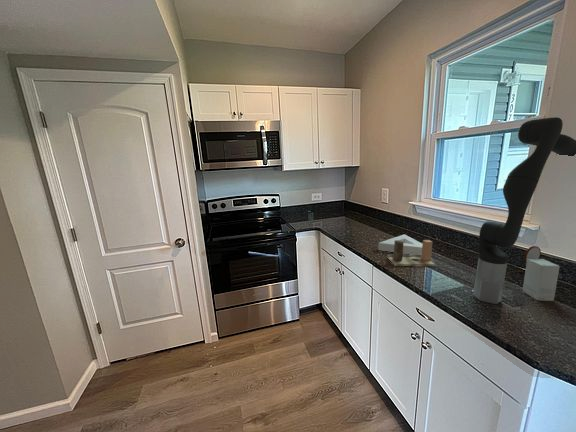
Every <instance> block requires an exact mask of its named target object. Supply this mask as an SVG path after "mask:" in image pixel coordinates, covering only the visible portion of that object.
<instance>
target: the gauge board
mask: <svg viewBox="0 0 576 432" xmlns="http://www.w3.org/2000/svg"><path fill="white" fill-rule="evenodd" d="M393 255H394V254H387V256H386V259H387V258H388V259H389V260H390V261H391V262H392V263H393V264H394V265H395V266H414V267H415V268H417V267H421V268H422V267H423V268H424V267H426V268H427V267H429V268H430V267H434V268H435V267H436V263H434V261H432V260H423V259H422V258H421V255H406V254H403V257H402V261H396V260H395V259H394V257H393ZM388 259H387V260H388ZM389 260H388V261H389ZM390 261H389V262H390ZM391 262H390V263H391ZM392 263H391V264H392ZM414 267H413V268H414Z"/></svg>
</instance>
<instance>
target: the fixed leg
mask: <svg viewBox="0 0 576 432" xmlns="http://www.w3.org/2000/svg"><path fill="white" fill-rule="evenodd" d="M403 243H404V242H402V241H401V240H395V244H394V253H393V254H392V255H393V257H394V259H395V260H396V261H402V257H403V255H404V254H403Z"/></svg>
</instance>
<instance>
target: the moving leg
mask: <svg viewBox="0 0 576 432" xmlns="http://www.w3.org/2000/svg"><path fill="white" fill-rule="evenodd" d="M422 244H423V245H422V255H421V258H422V259H423V260H430V261H432V252H433V241H432V240H430V239H423V240H422Z"/></svg>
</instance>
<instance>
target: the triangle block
mask: <svg viewBox="0 0 576 432" xmlns="http://www.w3.org/2000/svg"><path fill="white" fill-rule="evenodd" d="M395 240H401V241H402V242H404V243H403V255H406V254H409V255H422V245H423V242H420V241H418V240H416V239H415V238H412V237H410V236H408V235H407V234H402V235H398V236H396V237H391V238H389V239H386V240H384V241H380V242H378V245H377V246H378V248H377V251H378V250H382V251H390V252H394V244H395ZM382 251H381V252H382ZM390 252H389V253H390Z"/></svg>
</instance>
